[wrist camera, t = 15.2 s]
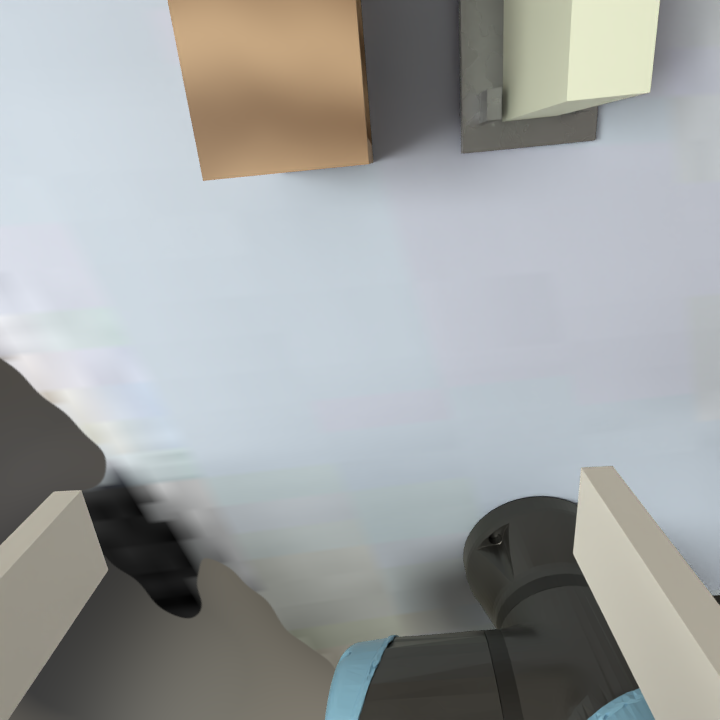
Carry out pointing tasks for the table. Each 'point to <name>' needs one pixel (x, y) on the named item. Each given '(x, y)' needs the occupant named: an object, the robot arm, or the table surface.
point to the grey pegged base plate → (485, 91)
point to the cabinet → (274, 84)
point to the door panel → (575, 54)
